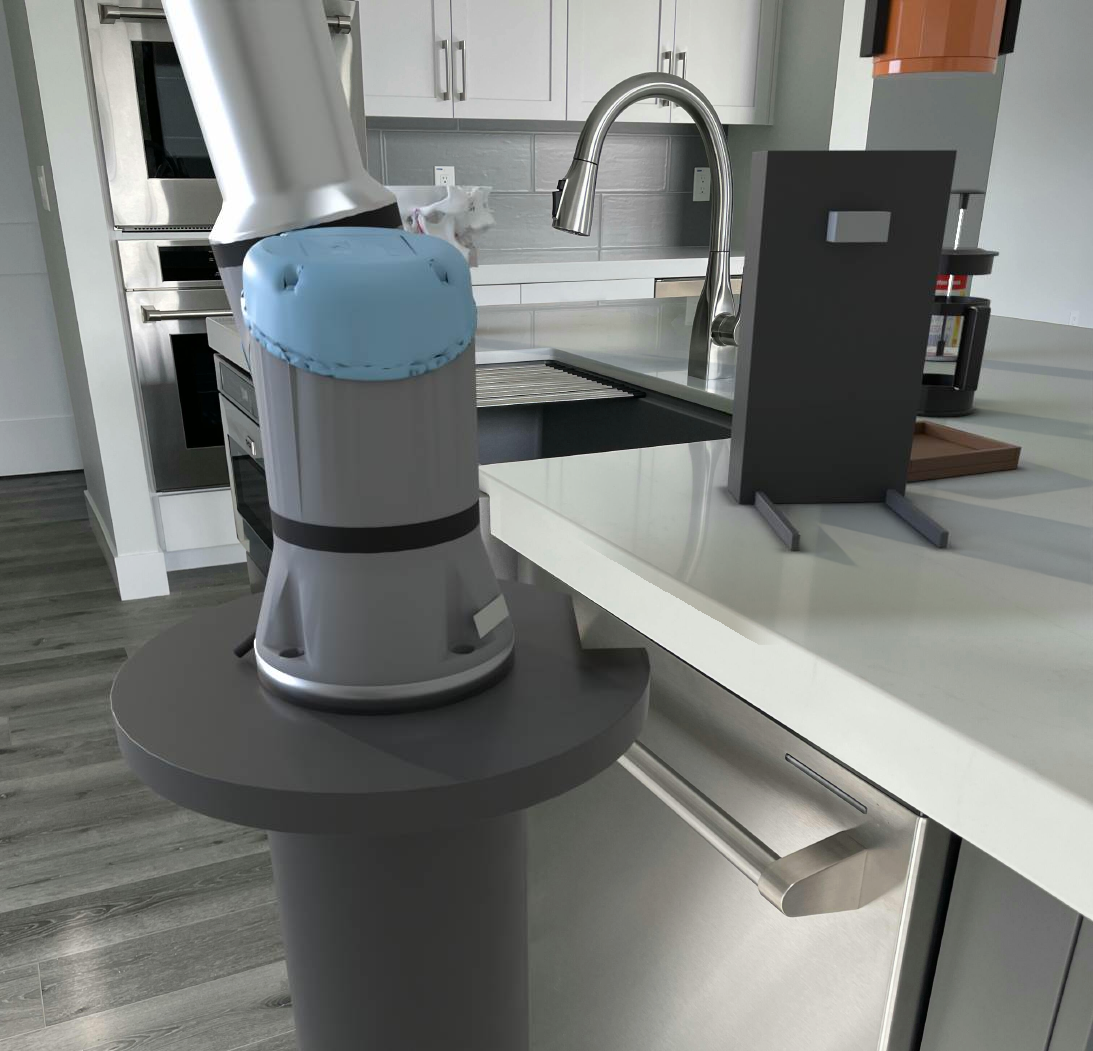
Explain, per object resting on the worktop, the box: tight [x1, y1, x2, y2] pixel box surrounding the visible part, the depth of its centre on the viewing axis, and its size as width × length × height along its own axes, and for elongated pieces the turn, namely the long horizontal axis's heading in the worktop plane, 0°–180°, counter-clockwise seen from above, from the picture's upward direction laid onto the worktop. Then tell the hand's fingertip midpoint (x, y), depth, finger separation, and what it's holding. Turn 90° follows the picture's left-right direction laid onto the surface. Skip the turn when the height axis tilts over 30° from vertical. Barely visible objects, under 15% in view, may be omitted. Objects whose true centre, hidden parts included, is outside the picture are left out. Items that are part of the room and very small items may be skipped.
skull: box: [383, 185, 498, 269], centre depth 181 cm, size 25×19×23 cm
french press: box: [917, 188, 1000, 418], centre depth 120 cm, size 12×9×23 cm
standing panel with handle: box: [726, 149, 958, 551], centre depth 81 cm, size 14×18×26 cm
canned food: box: [927, 275, 968, 348], centre depth 159 cm, size 8×8×12 cm
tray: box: [907, 420, 1022, 483], centre depth 103 cm, size 13×13×2 cm
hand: (935, 54), depth 71 cm, fingers closed on cup, 8 cm apart
